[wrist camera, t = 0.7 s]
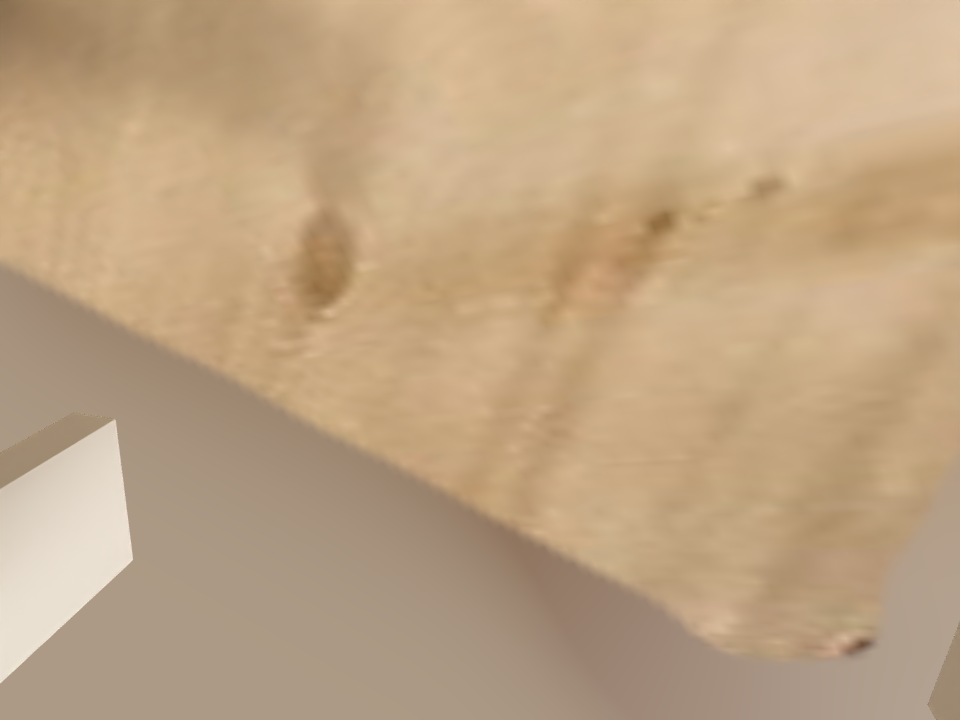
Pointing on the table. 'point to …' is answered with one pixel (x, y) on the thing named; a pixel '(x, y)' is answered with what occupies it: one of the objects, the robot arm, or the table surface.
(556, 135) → the table surface
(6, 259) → the table surface
